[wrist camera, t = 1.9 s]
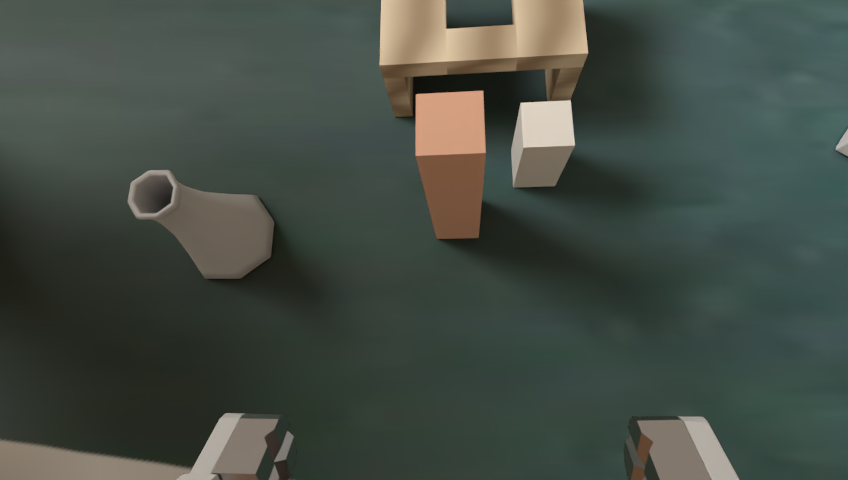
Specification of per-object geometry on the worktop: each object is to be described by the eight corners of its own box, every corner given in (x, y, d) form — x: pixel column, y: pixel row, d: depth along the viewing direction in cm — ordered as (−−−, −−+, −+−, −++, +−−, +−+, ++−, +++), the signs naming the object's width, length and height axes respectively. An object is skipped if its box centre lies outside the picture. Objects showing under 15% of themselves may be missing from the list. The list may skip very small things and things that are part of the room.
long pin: (436, 239, 36) (415, 155, 22) (436, 199, 37) (415, 94, 22) (478, 238, 36) (485, 153, 21) (477, 198, 37) (483, 90, 22)
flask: (183, 210, 39) (88, 160, 29) (266, 183, 39) (199, 123, 29) (198, 293, 37) (101, 268, 27) (285, 264, 37) (220, 229, 27)
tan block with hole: (395, 117, 39) (379, 65, 32) (396, 15, 42) (382, -52, 35) (566, 108, 38) (588, 53, 31) (557, 4, 40) (575, -68, 34)
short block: (513, 187, 37) (523, 147, 30) (511, 150, 37) (520, 102, 31) (555, 186, 36) (574, 145, 30) (552, 148, 37) (570, 100, 30)
